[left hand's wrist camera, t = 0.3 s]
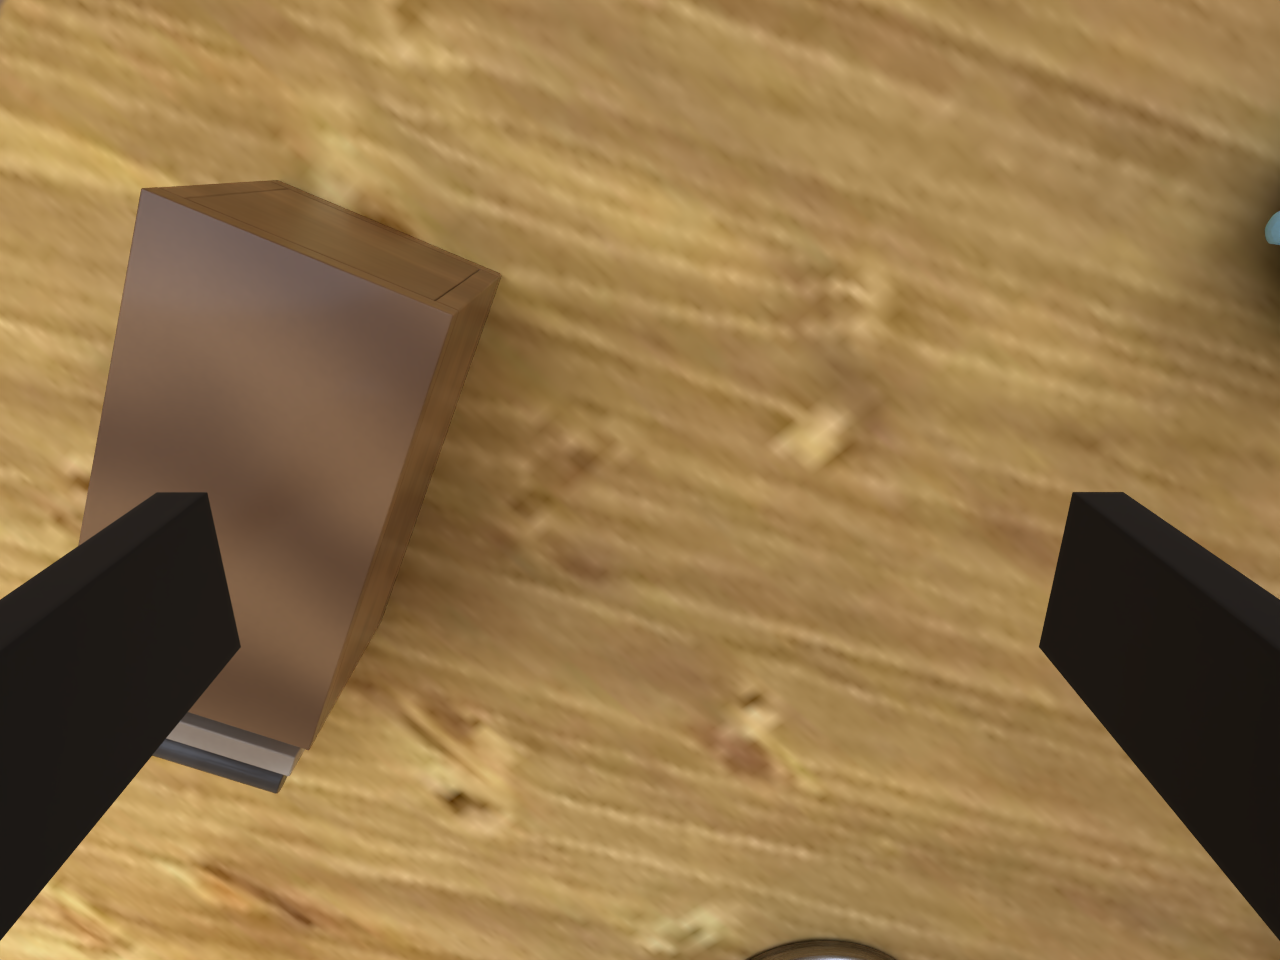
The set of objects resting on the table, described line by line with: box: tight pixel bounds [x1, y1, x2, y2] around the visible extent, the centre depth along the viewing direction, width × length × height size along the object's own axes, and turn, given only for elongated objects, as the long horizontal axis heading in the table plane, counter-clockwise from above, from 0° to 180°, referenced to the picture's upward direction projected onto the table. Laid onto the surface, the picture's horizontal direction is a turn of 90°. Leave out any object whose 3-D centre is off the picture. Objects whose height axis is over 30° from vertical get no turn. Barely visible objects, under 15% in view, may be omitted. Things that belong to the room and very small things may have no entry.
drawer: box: [152, 712, 305, 793], centre depth 38 cm, size 25×10×9 cm, turn 157°
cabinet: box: [78, 180, 501, 750], centre depth 35 cm, size 20×11×11 cm, turn 157°
